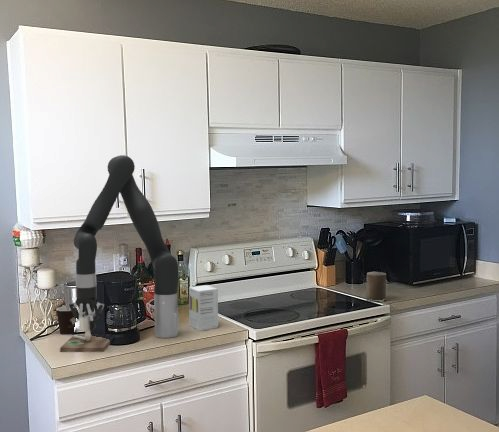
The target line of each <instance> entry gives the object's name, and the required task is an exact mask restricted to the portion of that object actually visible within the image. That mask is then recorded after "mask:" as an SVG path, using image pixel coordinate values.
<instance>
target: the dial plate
mask: <svg viewBox="0 0 499 432" xmlns="http://www.w3.org/2000/svg"><path fill="white" fill-rule="evenodd" d="M74 335H75V334H74ZM74 335H72V336H70V338H69V339H68V340H66V342H64V343H63V344H62V346H60V348H59V350H60V352H61V353H62V352H63V353H65V352H66V353H68V352H69V353H70V352H71V353H72V352H73V353H75V352H83V353H84V352H85V353H86V352H88V353H89V352H93V353H95V352H97V353H99V352H101V353H102V352H105V350H106V349H107V348H108V347H109V345H110V344H111V343H110V340H109V339H106V338H102V337H96V336H92V335H93V334H91V340H90V341H85V340H84V339H80V338H75V337H74ZM76 335H77V336H82V337H85V334H76Z"/></svg>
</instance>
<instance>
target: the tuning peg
mask: <svg viewBox="0 0 499 432" xmlns="http://www.w3.org/2000/svg"><path fill="white" fill-rule="evenodd" d="M79 321H80V324H79V331H80V332H84V335H85V337H82V336H77V335H78V334H74V337H75V338H80V339H84V340H85V341H90V340H91V335H92V334H91V330H90V321H91V320H90V316H89V314H88V315H85V316H83V317H80V318H79V319H78V322H79Z"/></svg>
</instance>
